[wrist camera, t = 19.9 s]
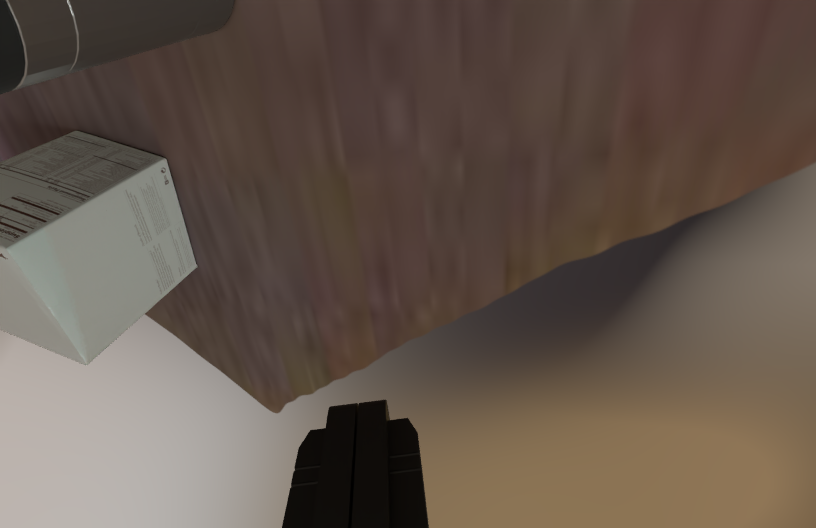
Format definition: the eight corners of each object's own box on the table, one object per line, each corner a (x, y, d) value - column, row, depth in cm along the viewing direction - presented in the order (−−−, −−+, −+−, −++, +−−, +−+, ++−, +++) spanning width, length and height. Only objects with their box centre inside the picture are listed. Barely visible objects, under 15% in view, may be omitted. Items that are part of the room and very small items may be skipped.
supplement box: (72, 127, 49) (-118, 203, 35) (168, 155, 47) (4, 247, 33) (122, 241, 60) (-8, 330, 47) (201, 267, 58) (88, 369, 45)
